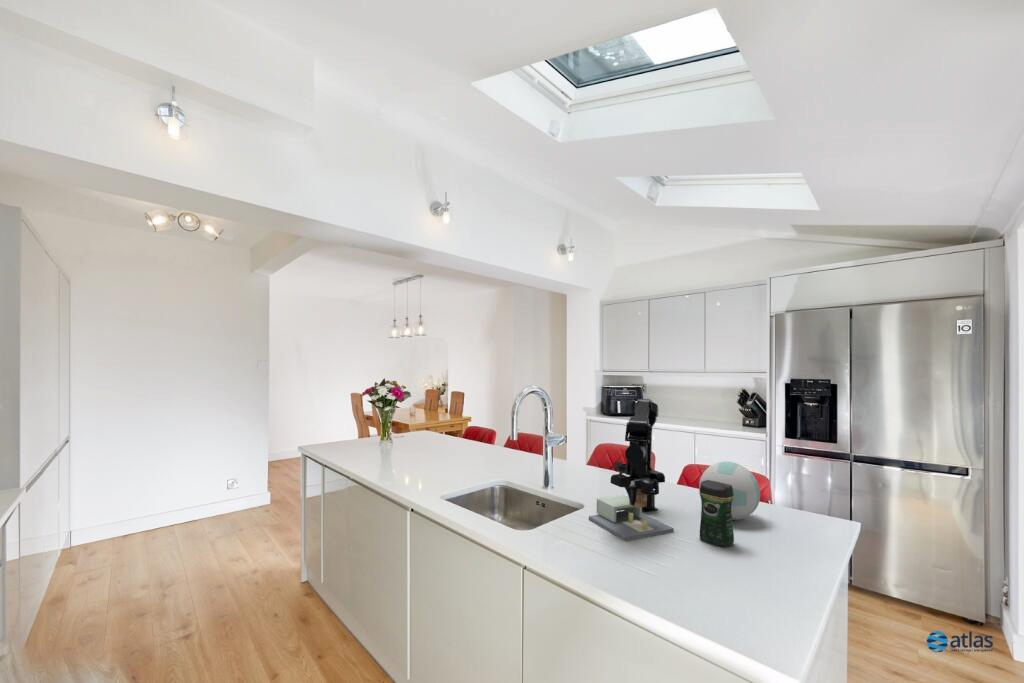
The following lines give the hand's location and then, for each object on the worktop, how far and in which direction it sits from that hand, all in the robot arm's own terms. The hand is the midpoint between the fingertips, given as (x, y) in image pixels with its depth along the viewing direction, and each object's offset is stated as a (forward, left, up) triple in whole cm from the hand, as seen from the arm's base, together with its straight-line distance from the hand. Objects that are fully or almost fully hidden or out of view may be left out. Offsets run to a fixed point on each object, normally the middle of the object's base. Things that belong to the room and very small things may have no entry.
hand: (637, 504), depth 152 cm
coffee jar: (-17, +17, -9) cm, 26 cm away
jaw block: (0, 0, 0) cm, 0 cm away
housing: (0, -12, -7) cm, 14 cm away
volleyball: (-39, +3, -9) cm, 40 cm away
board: (0, -4, -8) cm, 9 cm away
